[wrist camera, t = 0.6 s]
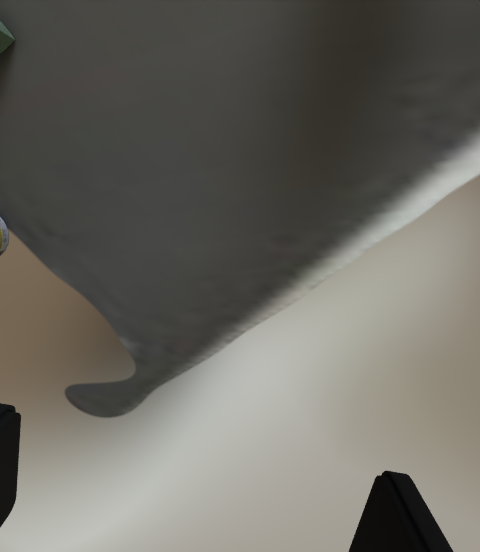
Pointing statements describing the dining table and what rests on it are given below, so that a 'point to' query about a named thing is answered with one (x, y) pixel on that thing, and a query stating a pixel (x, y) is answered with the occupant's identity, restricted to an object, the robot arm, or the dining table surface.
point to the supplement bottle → (3, 236)
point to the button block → (5, 38)
